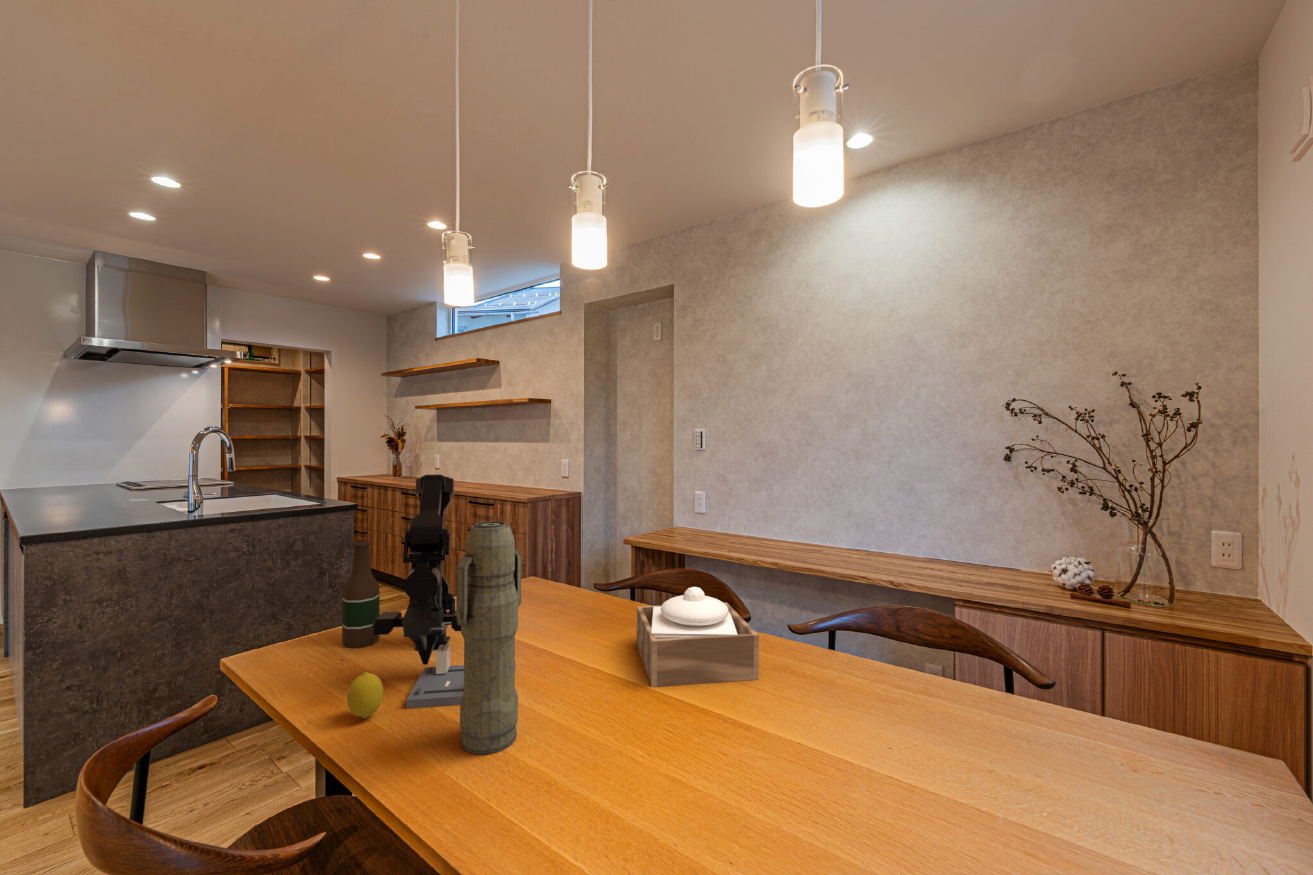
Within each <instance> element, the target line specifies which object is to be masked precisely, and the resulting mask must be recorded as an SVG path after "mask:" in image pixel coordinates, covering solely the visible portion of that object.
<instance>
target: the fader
mask: <svg viewBox="0 0 1313 875" xmlns="http://www.w3.org/2000/svg"><path fill="white" fill-rule="evenodd" d="M450 666H451V644H450V643H449V644H447V645H440V646H439V648H438V649H436V651H435V667H436V674H445V673H447V671H448V669H449V667H450Z"/></svg>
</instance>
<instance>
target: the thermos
mask: <svg viewBox="0 0 1313 875" xmlns="http://www.w3.org/2000/svg"><path fill="white" fill-rule="evenodd" d="M515 546H516V541H515V537H514V534H513V531H512V528H511V525H510V524H507V522H503V521H494V520H493V521H492V520H491V521H482V522H477V523H475V525H472V526H471V527H470V530H469V532H468V536H467V539H466V541H465V554H464V555H463V556H462V557H460V560H459V562H458V563H457V566H456V593H455V596H456V598H455V611H456V613H457V625H460V626H461V631H460V633H461V635H462V638H463V641H464V642H463V646H464V647H463V651H464V652H463V665H464V694H463V697H462V700H461V702H460V705H459V706H460V707H459V729H460V732H461V738H460V745H461V749H462V750H464V752H466V753H470V754H472V755H479V756H483V755H491V754H496V753H499V752H502V751H504V750H506V749H508V748H509V747H510V746H512V745H513V744H514V743H515V741H517V724H518V721H519V720H518V718H519V714H518V713H519V710H518V709H519V695H518V692H517V689H516V687H515V681H516V680H515V678H516V677H515V673H516V669H515V662H516V661H515V660H516V659H515V657H516V635H517V631H518V629H519V607H520V606H521V604H522V555H521V553H520V551H519V550H518V549H516V548H515Z"/></svg>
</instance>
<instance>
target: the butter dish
mask: <svg viewBox="0 0 1313 875" xmlns="http://www.w3.org/2000/svg"><path fill="white" fill-rule="evenodd" d="M724 603H725V602H723V601H721V600H719V599H718V598H715V597H713V596H712V597H711V596H708V595H705V592H704V590H702V588H701V587H698V586H692V587H688V588H687V589H686V590H684V593H683V594H681V595H678V596H674V597H671V598H669V599H667V600H666V601H664V602H663V603H662V604H661V605H662V606H661V607H653V618H652V630H651V633H654V635H655V637H656V639H669V638H687V637H705V636H723V635H738V634H737V631H736V628H735V625H734V623H733V620H732V617H731V614H730V613H729V611H728V607H727V606H726V605H725V604H724Z"/></svg>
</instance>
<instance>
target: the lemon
mask: <svg viewBox="0 0 1313 875" xmlns="http://www.w3.org/2000/svg"><path fill="white" fill-rule="evenodd" d="M346 696H347V697H346V699H347V700H346V702H347V707H348V710H349V711H350V713H351V714H352V715H353V716H355V717H357V718H358V717H359V718H360V717H361V718H362V719H363V720H365V719H368V718H369V717H370V716H371V715H373V714H374V713H375V712H376V711H377V710H378V709H379V708H380V706H381V704H382V702H383V699H384V686H383V683H382V680H381V679H380V677H379V676H377V675H376V674H374V673H370V672H368V671H363V672H362V674H359V675H358V676H357V677H356V678H354V680H352V682H351V683H350V685H349V688H348V690H347V695H346Z"/></svg>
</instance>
